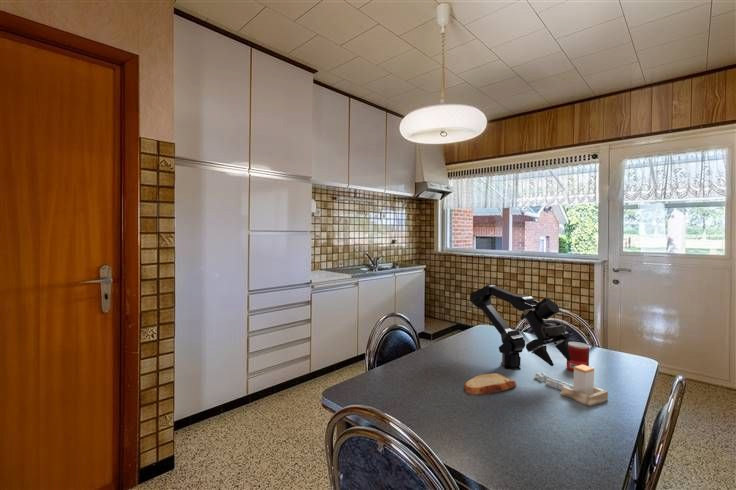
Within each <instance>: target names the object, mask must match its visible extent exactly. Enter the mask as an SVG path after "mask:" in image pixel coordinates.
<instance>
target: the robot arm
mask: <svg viewBox="0 0 736 490" xmlns="http://www.w3.org/2000/svg"><path fill="white" fill-rule="evenodd" d="M492 297H495V298H498V299H500V300H502V301H505V302H507V303H509V304H510V305H511V306H512V307H513V308H515V309H516V310H518V311H519V312H521V316H520V320H521V321H522V320H526V321H527V323H528V325H529V327H530V328H531V330H530V332H531V334H534V335H535V336H536V339H532V340H531V341H529V342H528V343H526V340H525V336H523V334H522V333H520V331H519V330H518V329H515V330H513V329H511V327H510V326H509V325H508V324H507V323H506V321H505V320H504V318H503V317H502V316H501V315H500V314H499V312H498V311H497V310H496V308H495V307H494V306H493V305H492V301H491V298H492ZM469 301H470V302H471V304H472V305H474V307H476V308H478V309H480V310H481V311H482V312H483V313H484V314H485V316H486V318H488V320H489V321H490V322H491V324H492V325H493V326H494V328H495V329H496V330H497V332H498V333H499V334H500V337H501V343H502V344H501V345H500V346H498V351H499V353H500V354H501V355H502V356H501V362H500V365H501V366H502V367H503V368H504V369H505V370H521V369H522V368H521V359H522V358H521V356H520V353H522V352H523V350H524V349H526V351H527V352H528V353H530V352H531V354H534V355H535V356H537V357H538V358H540V359H541V360H543V361H544V362H545V363H546V364H548V365H549V366H550V367H554V366H555V364H554V362H553V360H552V357H550V354H549V353H548V350H547V345H549V344H550V345H551V344H554V346H555V348H556V349H557V350H558V352H560V354H561V355H562V356H563V357H564V358H565V359H566V361H567V360H568V361H570V360H571V357H570V353H569V349H568V342H571V339H572V335H571V334H570V332H568V331H567V326H566V324H565V323H564V322H563V321H561V322H559V321H558V322H556V324H555V325H551V324H550V323H549V322H548V323H547V322H546V321H545V320H548V319H550V318H552V317H553V316H555V315H556V314H558V313H559V312H560V307H559V305H558V304H557V303H556V302H555V301H553V300H552V299H550V297H544V298H543V299H541V301H538V300H536V299H534V297H533V296H531V295H526V294H519V293H514V292H513V291H512V292H511V291H509V290H507V289H504V288H502V287H499V286H497V285H495V284H486V285H484V286H483V287H482V288H480V289H477V290H475V291H472V292H470V295H469ZM525 311H527V312H525Z"/></svg>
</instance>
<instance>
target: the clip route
mask: <svg viewBox="0 0 736 490" xmlns="http://www.w3.org/2000/svg"><path fill="white" fill-rule="evenodd" d="M534 379H536V380H538V382H541V383H542V382H543V383H545V385H547V386H550V387H551V388H554V389H557V390H560V391H561V389H562V386H566V387H568V388H571V389H573V386H574V384H571V383H568V382H565V381H562V380H560V379H557V378H554V377H552V376H550V375H548V374H546V373H545V372H543V371H542V372H541V373H539V372H535V375H534Z"/></svg>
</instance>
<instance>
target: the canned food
mask: <svg viewBox="0 0 736 490" xmlns="http://www.w3.org/2000/svg"><path fill="white" fill-rule="evenodd" d="M568 349H569V353H570V357H571V360H570V361H568V360H567V359H566V369H567V370H568V371H570V372H572V373H574V367H575V366H578V365H582V364H583V365H586V366H589V367H590V365H589V364H590V345H589V344H588V343H584V342H581V341H580V342H579V341H569V342H568Z"/></svg>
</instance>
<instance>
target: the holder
mask: <svg viewBox="0 0 736 490" xmlns="http://www.w3.org/2000/svg"><path fill="white" fill-rule="evenodd" d="M559 395H562V396H564V397H566V398H568V399H571V400H573V401H576V402H577V403H580V404H582V405H585V406H587V407H588V408H590V407H593V406H596V405H598V404H601V403H603V402H606V401H608V399H609V398H608V397H609V392H608V391H607V390H605V389H602V388H599V387H597V386H594V394H592V395H589V396H588V395H585V394H583V393H581V392H578V391H576V390H573V389H571V388H568V387H566V386H562V389H561V390H560V392H559Z"/></svg>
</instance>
